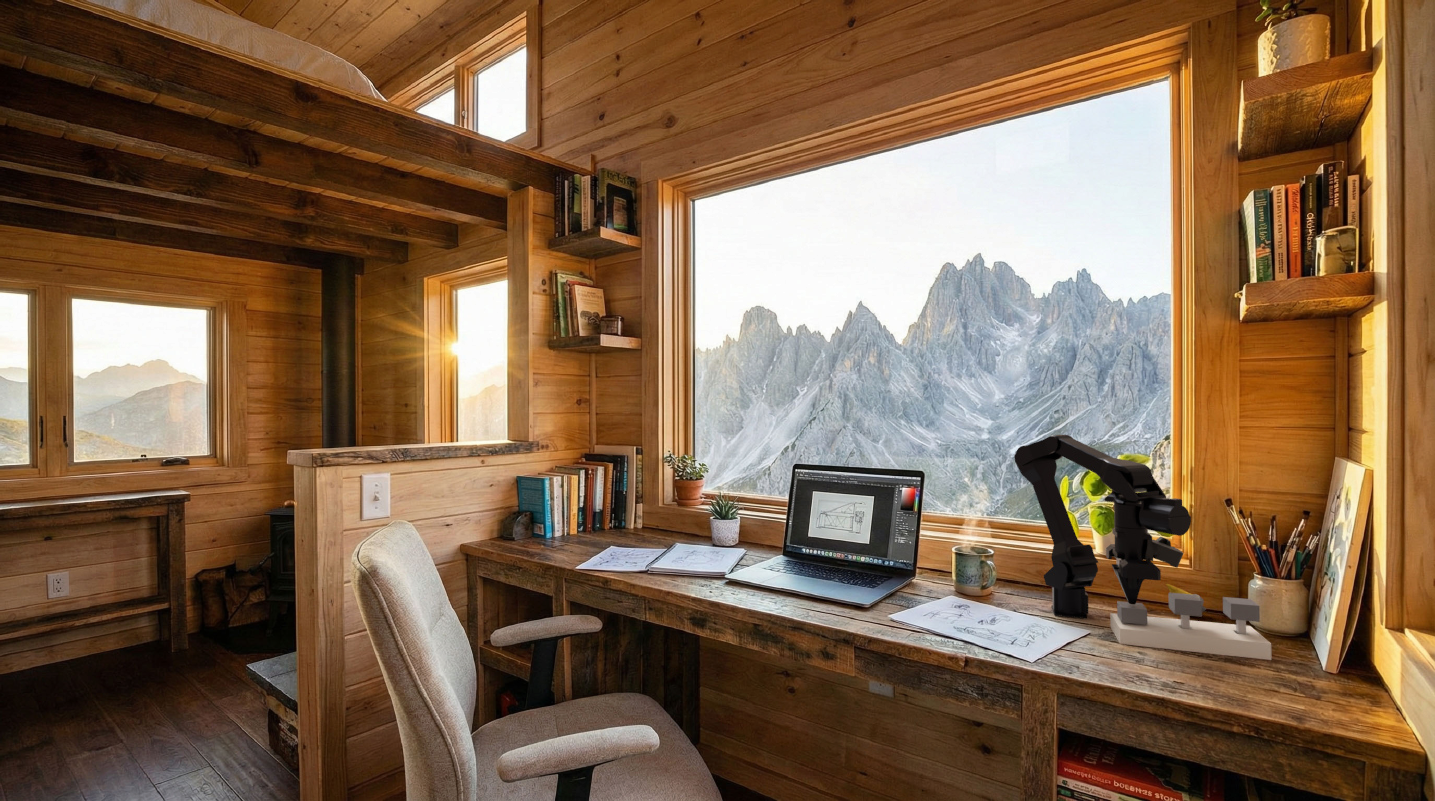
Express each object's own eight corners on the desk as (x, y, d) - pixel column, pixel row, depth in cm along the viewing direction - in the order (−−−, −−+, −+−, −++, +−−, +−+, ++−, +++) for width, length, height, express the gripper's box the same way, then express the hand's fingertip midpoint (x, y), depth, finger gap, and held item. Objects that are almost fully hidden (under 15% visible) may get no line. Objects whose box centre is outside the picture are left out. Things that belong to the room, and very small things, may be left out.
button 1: (1121, 637, 132) (1121, 607, 132) (1117, 630, 136) (1117, 601, 136) (1147, 640, 130) (1147, 609, 130) (1142, 632, 134) (1142, 603, 134)
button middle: (1175, 629, 128) (1174, 598, 128) (1168, 622, 132) (1168, 592, 132) (1202, 632, 127) (1201, 601, 127) (1195, 624, 131) (1194, 594, 131)
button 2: (1231, 635, 125) (1230, 603, 125) (1223, 627, 129) (1222, 596, 129) (1259, 637, 123) (1259, 605, 123) (1250, 630, 128) (1250, 599, 128)
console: (1120, 643, 129) (1119, 628, 129) (1110, 627, 139) (1110, 612, 139) (1271, 659, 121) (1271, 643, 121) (1250, 641, 130) (1250, 625, 130)
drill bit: (1210, 623, 142) (1172, 590, 143) (1188, 626, 146) (1152, 594, 148) (1217, 604, 144) (1180, 572, 146) (1196, 608, 149) (1160, 576, 150)
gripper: (1192, 538, 121) (1193, 622, 121) (1165, 520, 139) (1166, 594, 139) (1122, 534, 125) (1123, 616, 125) (1105, 517, 143) (1106, 589, 143)
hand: (1132, 603), depth 133 cm, fingers closed
